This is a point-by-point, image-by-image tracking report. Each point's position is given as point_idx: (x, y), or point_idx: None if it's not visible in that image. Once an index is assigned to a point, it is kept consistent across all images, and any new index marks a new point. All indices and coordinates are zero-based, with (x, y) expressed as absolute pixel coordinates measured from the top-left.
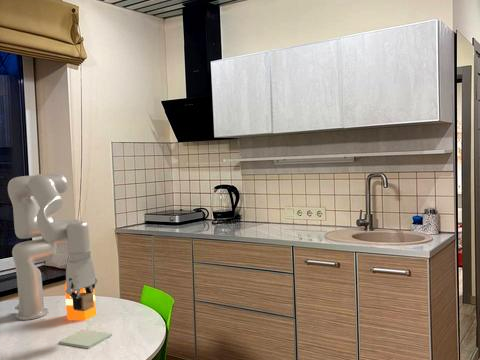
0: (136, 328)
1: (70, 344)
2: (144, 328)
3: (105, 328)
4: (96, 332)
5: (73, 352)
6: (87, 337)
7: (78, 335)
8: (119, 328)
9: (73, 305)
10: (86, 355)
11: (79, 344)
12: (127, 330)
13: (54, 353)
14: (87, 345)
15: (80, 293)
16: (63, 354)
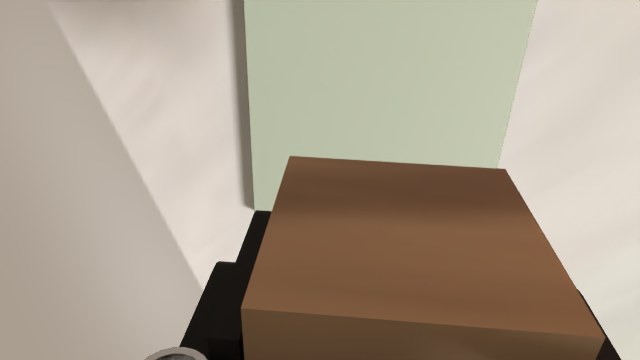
0: (624, 296)
1: (249, 62)
2: (623, 334)
3: (630, 92)
4: (490, 116)
5: (177, 161)
6: (380, 116)
7: (402, 9)
8: (627, 196)
9: (278, 201)
10: (183, 253)
11: (255, 146)
12: (585, 264)
13: (105, 47)
14: (262, 206)
15: (503, 345)
16: (126, 121)
